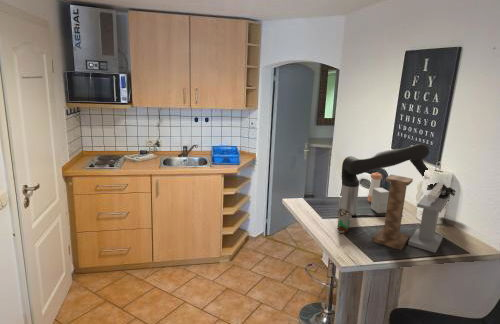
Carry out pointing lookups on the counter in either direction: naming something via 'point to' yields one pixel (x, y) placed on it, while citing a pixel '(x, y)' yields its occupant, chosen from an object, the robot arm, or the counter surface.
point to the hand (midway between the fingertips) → (439, 185)
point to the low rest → (428, 225)
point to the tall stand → (394, 214)
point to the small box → (379, 200)
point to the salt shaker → (374, 184)
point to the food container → (343, 220)
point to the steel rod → (435, 192)
